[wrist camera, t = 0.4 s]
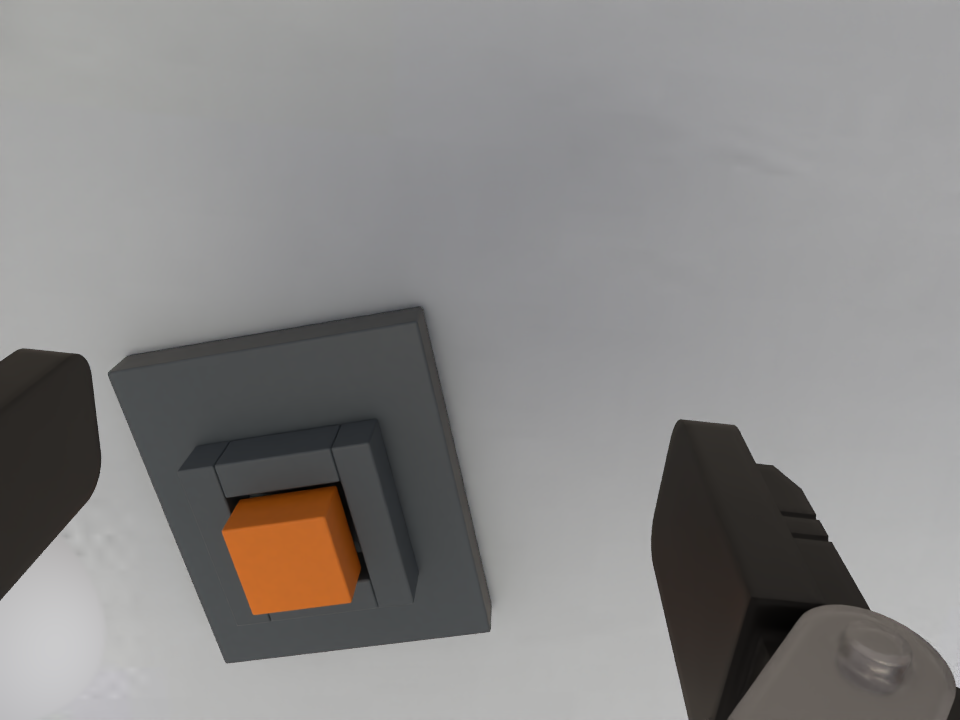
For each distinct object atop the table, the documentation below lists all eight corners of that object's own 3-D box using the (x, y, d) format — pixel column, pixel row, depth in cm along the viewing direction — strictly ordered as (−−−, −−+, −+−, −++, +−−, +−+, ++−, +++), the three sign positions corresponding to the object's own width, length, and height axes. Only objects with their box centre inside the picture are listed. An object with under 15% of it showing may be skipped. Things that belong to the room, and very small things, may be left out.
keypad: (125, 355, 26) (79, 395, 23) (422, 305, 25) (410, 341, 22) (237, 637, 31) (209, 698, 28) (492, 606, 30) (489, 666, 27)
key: (239, 498, 25) (219, 531, 23) (336, 484, 25) (324, 516, 23) (268, 579, 26) (252, 616, 25) (362, 567, 26) (351, 604, 24)
